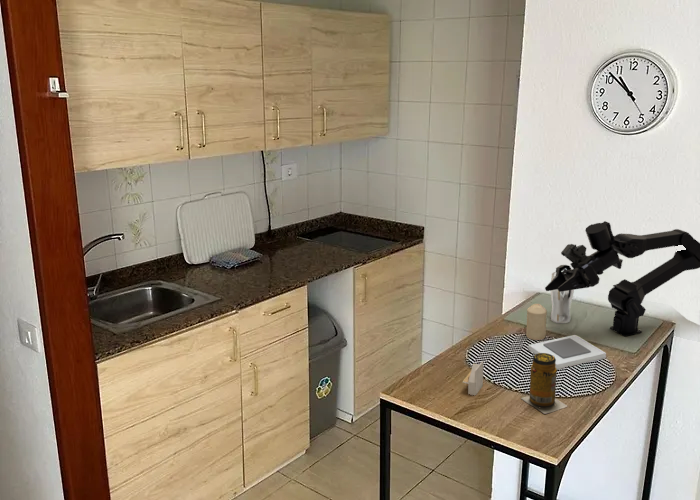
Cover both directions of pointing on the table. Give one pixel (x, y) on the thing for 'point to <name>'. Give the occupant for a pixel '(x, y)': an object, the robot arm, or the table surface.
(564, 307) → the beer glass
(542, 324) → the candle
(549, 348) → the white flat block
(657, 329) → the table surface
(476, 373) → the architectural model
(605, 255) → the robot arm
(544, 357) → the condiment
